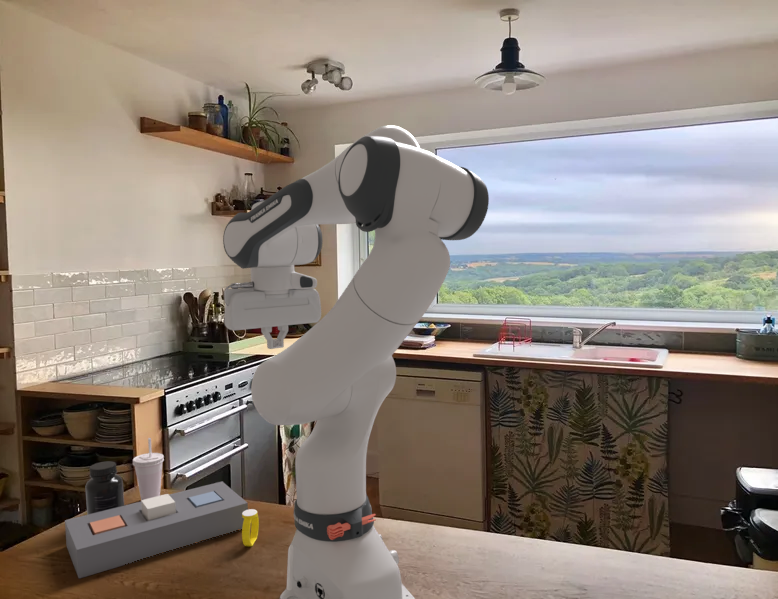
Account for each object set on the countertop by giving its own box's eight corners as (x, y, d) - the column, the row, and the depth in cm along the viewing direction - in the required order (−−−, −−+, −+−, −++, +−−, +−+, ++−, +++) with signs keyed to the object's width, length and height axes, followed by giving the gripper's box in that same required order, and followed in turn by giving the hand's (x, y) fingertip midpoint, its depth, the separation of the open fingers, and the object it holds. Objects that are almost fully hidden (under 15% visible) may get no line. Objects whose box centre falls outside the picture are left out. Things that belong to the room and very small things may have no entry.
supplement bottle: (87, 520, 123) (83, 463, 122) (123, 512, 126) (120, 456, 125) (88, 533, 117) (84, 473, 116) (126, 525, 120) (123, 467, 119)
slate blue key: (214, 512, 123) (213, 491, 123) (223, 520, 119) (222, 499, 119) (189, 518, 120) (188, 497, 120) (197, 527, 116) (196, 505, 116)
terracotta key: (120, 537, 113) (119, 515, 113) (126, 548, 109) (125, 524, 108) (91, 545, 110) (89, 522, 110) (96, 556, 106) (94, 532, 106)
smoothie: (155, 507, 128) (151, 443, 127) (128, 505, 129) (124, 442, 128) (171, 495, 134) (168, 434, 133) (146, 493, 136) (142, 433, 134)
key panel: (223, 503, 129) (222, 481, 129) (248, 527, 118) (247, 502, 117) (66, 546, 112) (64, 520, 111) (78, 578, 100) (76, 549, 100)
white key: (169, 515, 118) (167, 493, 118) (176, 524, 114) (175, 502, 114) (142, 522, 115) (141, 500, 115) (149, 532, 111) (147, 509, 111)
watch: (254, 551, 109) (252, 521, 108) (239, 551, 109) (236, 521, 108) (263, 533, 115) (261, 504, 114) (248, 533, 115) (247, 504, 114)
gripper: (229, 283, 114) (232, 356, 115) (323, 279, 125) (325, 344, 127) (217, 282, 119) (220, 351, 120) (309, 278, 131) (311, 341, 132)
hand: (275, 348), depth 123 cm, fingers closed
